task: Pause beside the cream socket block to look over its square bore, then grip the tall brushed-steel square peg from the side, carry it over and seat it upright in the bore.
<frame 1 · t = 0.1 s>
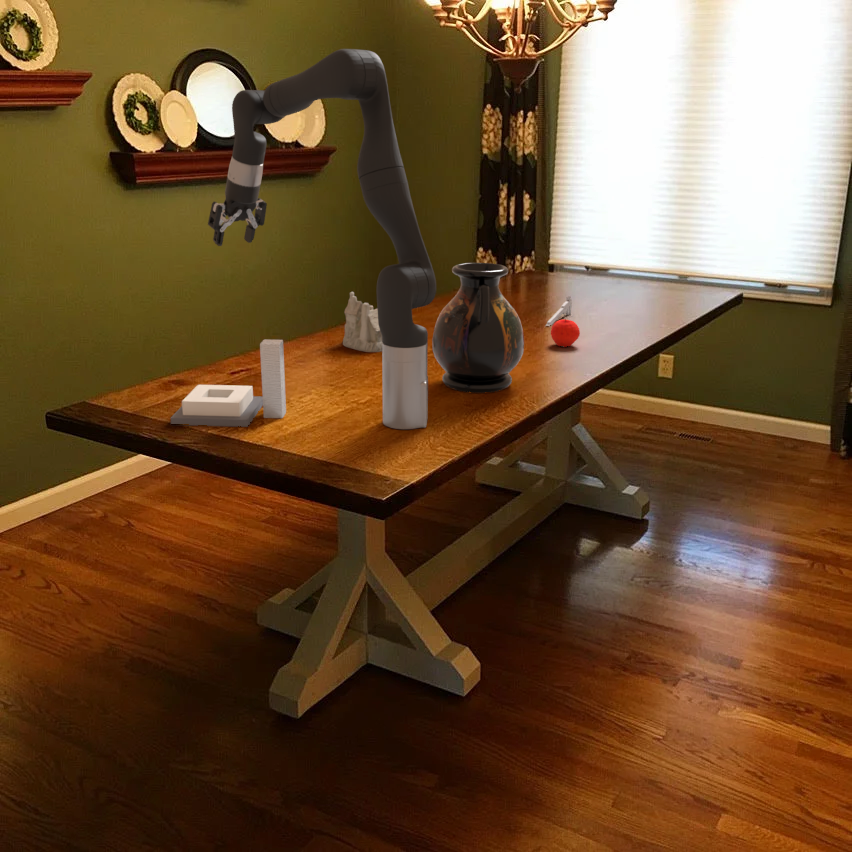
hand: (233, 242, 221), 31 cm above the table, tool tilted 20°, fingers open, 8 cm apart
black painted vase: (476, 385, 222), on the table
apple: (564, 346, 257), on the table
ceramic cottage: (372, 344, 258), on the table
socket block: (219, 413, 200), on the table
steel peg: (275, 414, 199), on the table
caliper: (558, 321, 288), on the table
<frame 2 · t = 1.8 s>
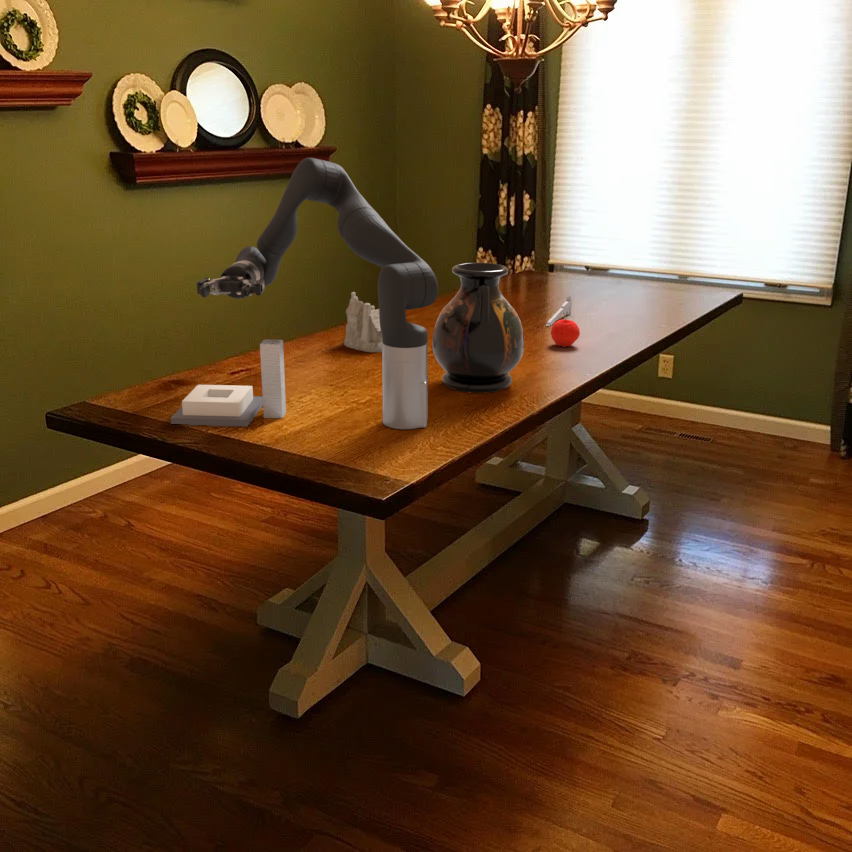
hand: (223, 293, 200), 24 cm above the table, tool horizontal, fingers open, 8 cm apart
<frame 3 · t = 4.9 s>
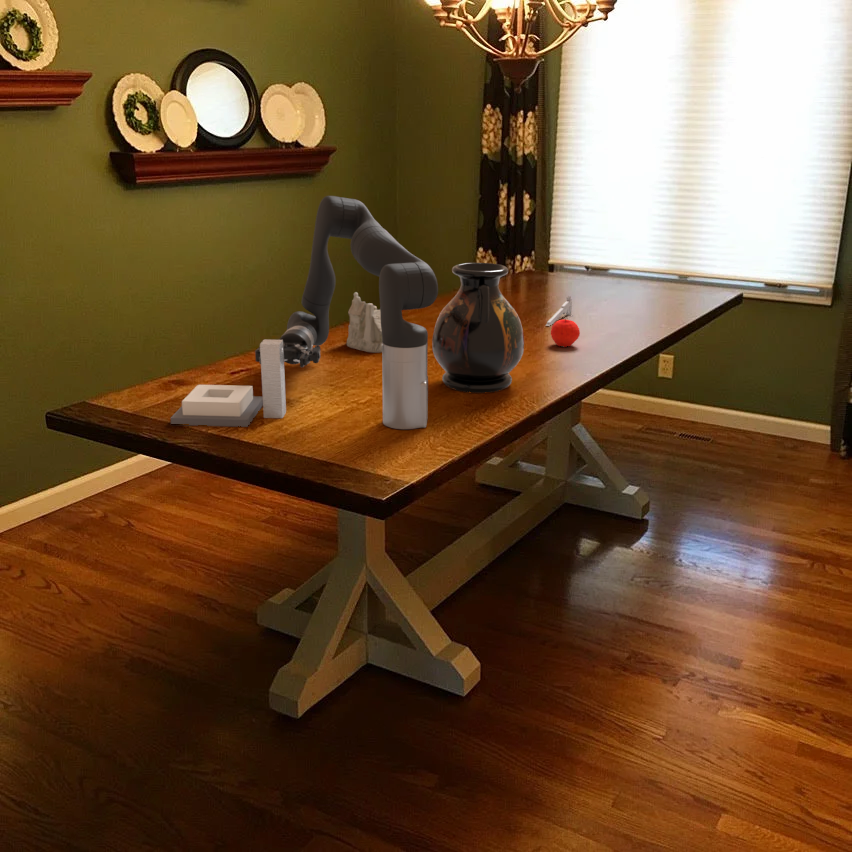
hand: (282, 362, 205), 9 cm above the table, tool horizontal, fingers open, 8 cm apart
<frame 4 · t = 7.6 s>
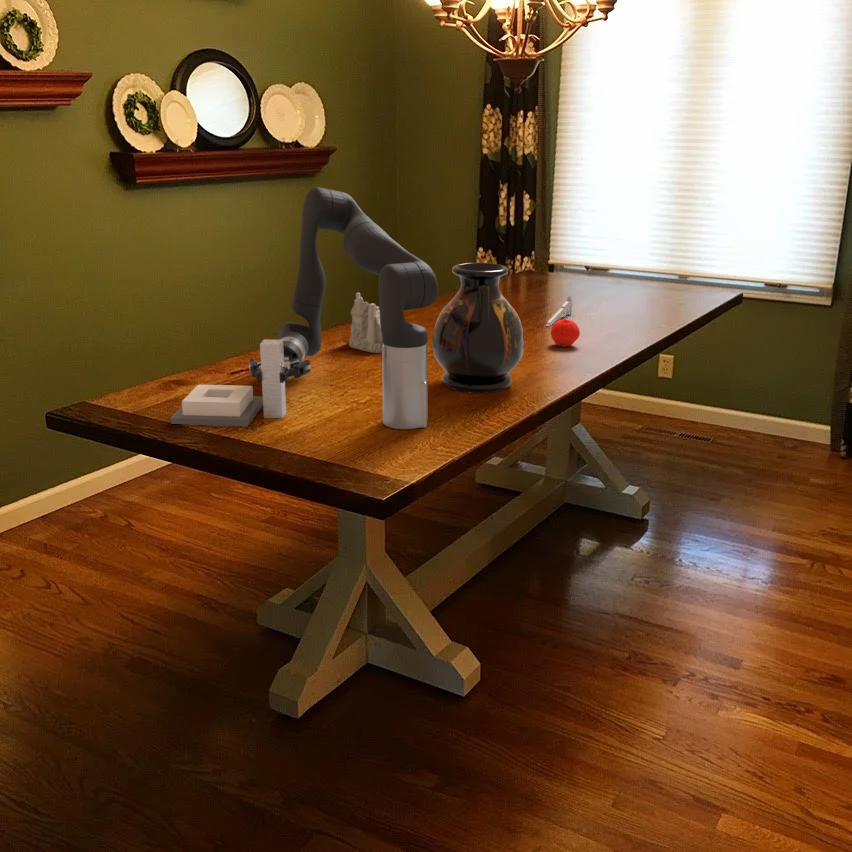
hand: (270, 377, 194), 9 cm above the table, tool horizontal, fingers closed on steel peg, 4 cm apart
steel peg: (275, 414, 199), on the table, touching gripper
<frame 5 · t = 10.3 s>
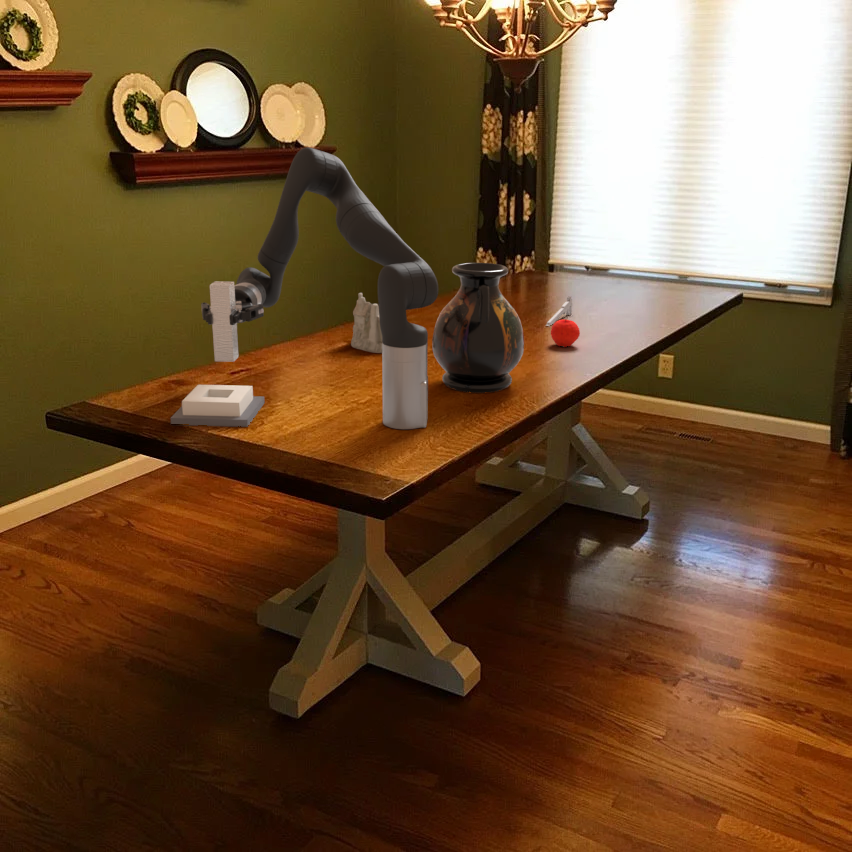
hand: (220, 319, 191), 21 cm above the table, tool horizontal, fingers closed on steel peg, 4 cm apart
steel peg: (226, 358, 196), point 12 cm above the table, touching gripper
when the fingers open (11 cm above the table, at t = 12.9 s): steel peg stays where it is, resting on socket block.
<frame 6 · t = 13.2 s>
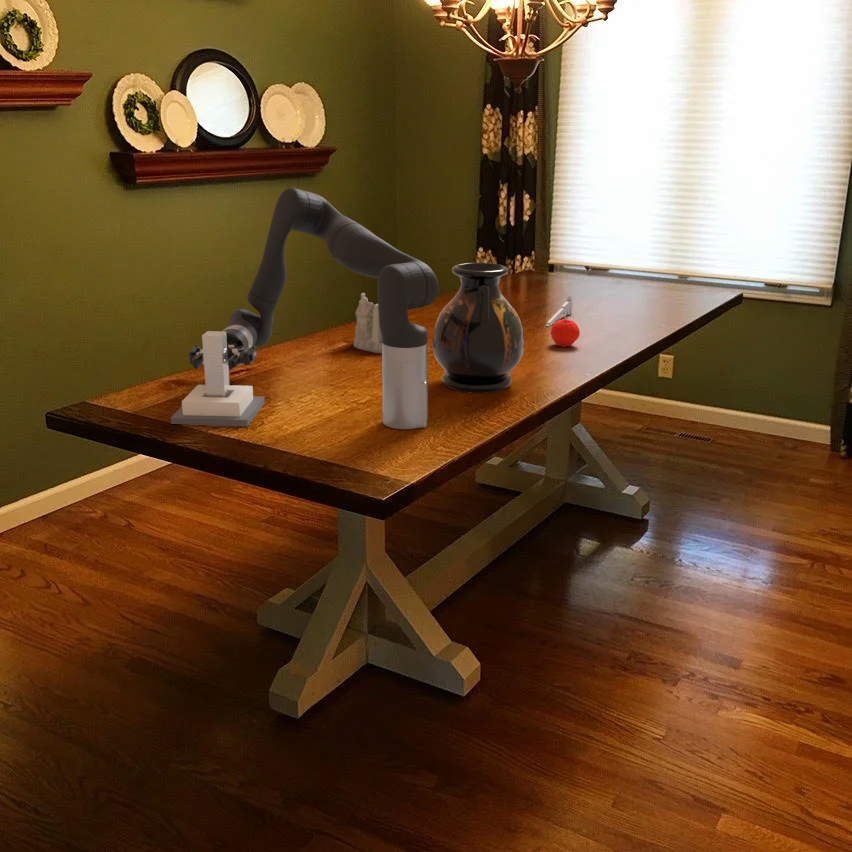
hand: (213, 364, 194), 12 cm above the table, tool horizontal, fingers open, 6 cm apart
steel peg: (219, 406, 199), point 1 cm above the table, touching socket block
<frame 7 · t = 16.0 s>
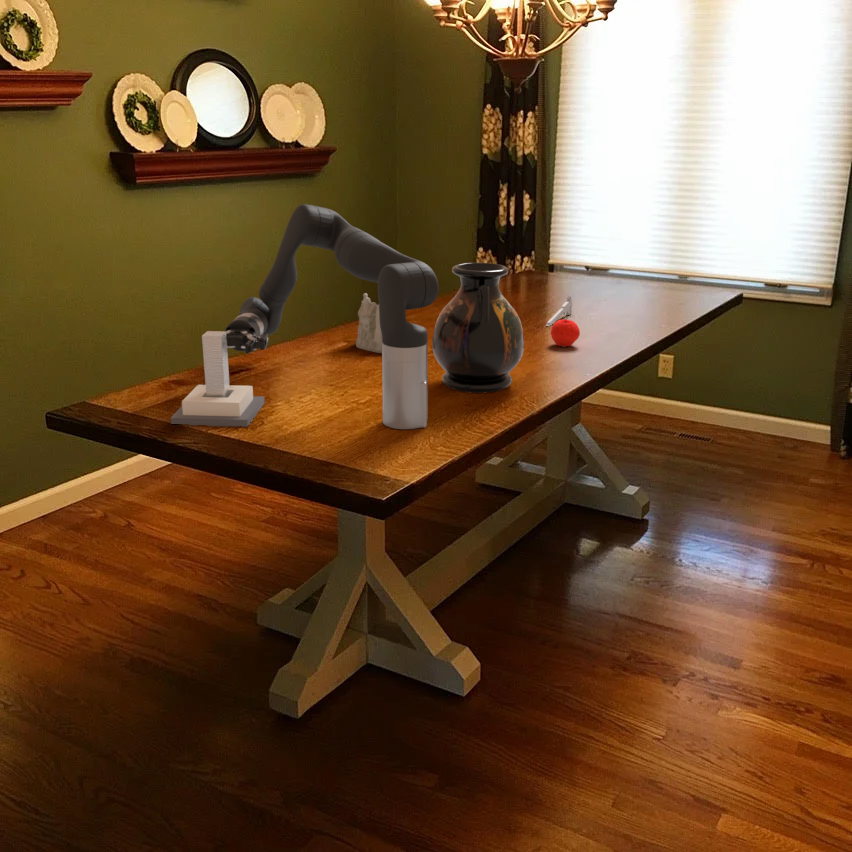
hand: (227, 348, 206), 12 cm above the table, tool horizontal, fingers open, 8 cm apart
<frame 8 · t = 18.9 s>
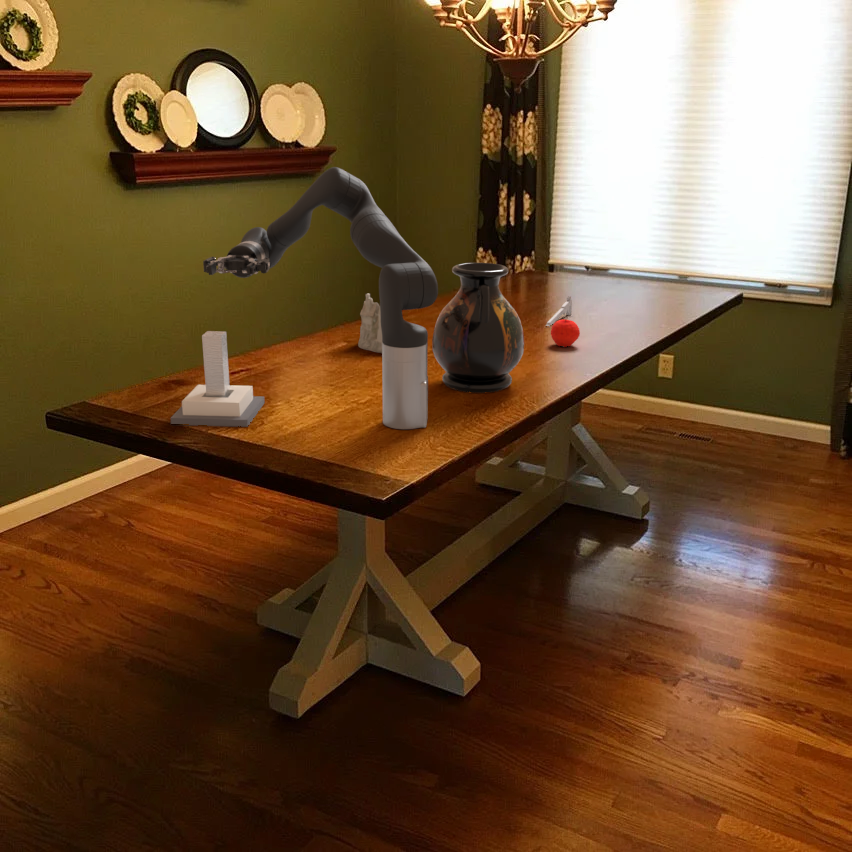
hand: (229, 270, 205), 28 cm above the table, tool horizontal, fingers open, 8 cm apart
at the end: steel peg 0.1 cm off-centre on the socket block, point 1.5 cm above the socket block's base; steel peg tilted 0°; the gripper is holding nothing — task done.
